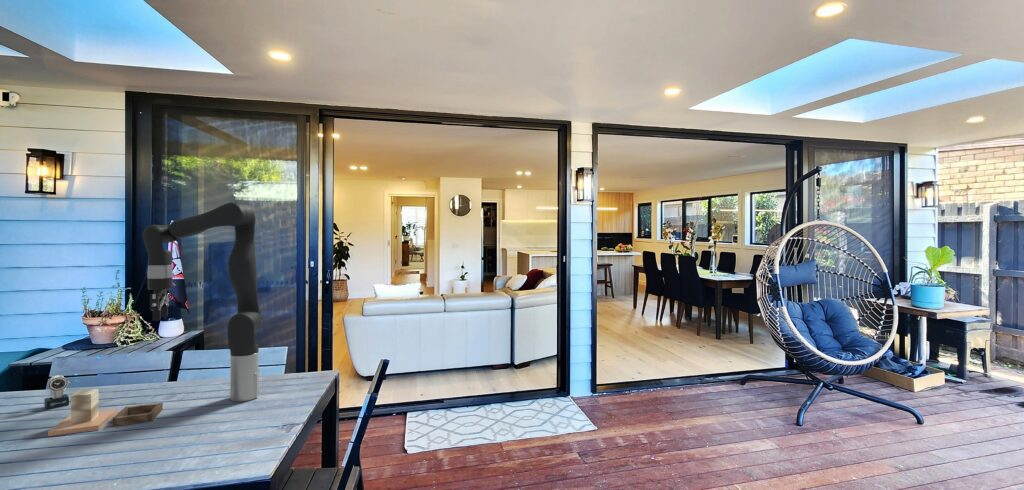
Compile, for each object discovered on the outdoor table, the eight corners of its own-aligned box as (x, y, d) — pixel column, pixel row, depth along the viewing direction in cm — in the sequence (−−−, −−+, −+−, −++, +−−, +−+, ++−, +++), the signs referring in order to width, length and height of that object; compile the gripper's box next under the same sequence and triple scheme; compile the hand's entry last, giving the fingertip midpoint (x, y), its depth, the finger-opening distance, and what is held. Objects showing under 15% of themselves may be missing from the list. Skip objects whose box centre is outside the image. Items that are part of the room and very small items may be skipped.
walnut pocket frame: (162, 409, 155) (162, 402, 155) (152, 421, 145) (152, 413, 145) (125, 413, 151) (125, 406, 151) (112, 426, 141) (112, 418, 141)
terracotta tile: (117, 413, 151) (117, 408, 151) (98, 429, 138) (98, 425, 138) (71, 418, 146) (71, 414, 146) (48, 436, 134) (48, 431, 134)
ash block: (98, 415, 146) (98, 388, 146) (91, 421, 141) (91, 393, 141) (78, 417, 144) (78, 390, 144) (70, 423, 139) (70, 396, 139)
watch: (47, 411, 151) (47, 380, 151) (43, 406, 156) (43, 375, 156) (70, 406, 156) (70, 376, 156) (65, 401, 161) (65, 371, 160)
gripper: (166, 278, 162) (166, 321, 163) (177, 274, 175) (177, 314, 176) (140, 278, 159) (141, 322, 160) (154, 275, 172) (154, 315, 173)
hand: (160, 318), depth 168 cm, fingers open, 8 cm apart
